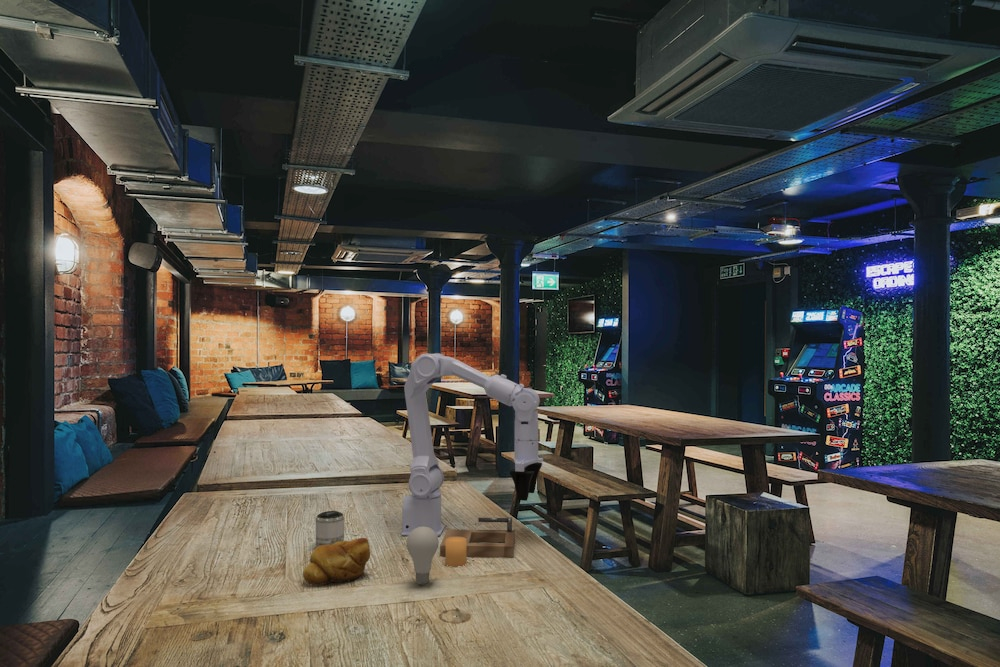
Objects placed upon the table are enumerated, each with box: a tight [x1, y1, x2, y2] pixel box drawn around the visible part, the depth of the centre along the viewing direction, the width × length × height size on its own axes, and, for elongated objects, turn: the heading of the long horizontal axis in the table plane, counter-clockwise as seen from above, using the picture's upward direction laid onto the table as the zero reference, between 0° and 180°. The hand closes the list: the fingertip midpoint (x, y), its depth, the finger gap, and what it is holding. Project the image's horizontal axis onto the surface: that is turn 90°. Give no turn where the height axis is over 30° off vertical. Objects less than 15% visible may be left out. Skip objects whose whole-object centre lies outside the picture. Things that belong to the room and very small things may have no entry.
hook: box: [477, 516, 513, 532], centre depth 145 cm, size 8×1×6 cm, turn 87°
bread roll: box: [302, 537, 371, 586], centre depth 123 cm, size 13×10×8 cm
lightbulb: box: [406, 526, 440, 586], centre depth 119 cm, size 6×6×11 cm
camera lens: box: [315, 510, 345, 547], centre depth 141 cm, size 6×6×8 cm
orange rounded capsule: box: [445, 537, 467, 568], centre depth 130 cm, size 4×4×5 cm
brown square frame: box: [439, 528, 516, 559], centre depth 140 cm, size 16×12×2 cm
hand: (526, 496), depth 148 cm, fingers open, 7 cm apart
